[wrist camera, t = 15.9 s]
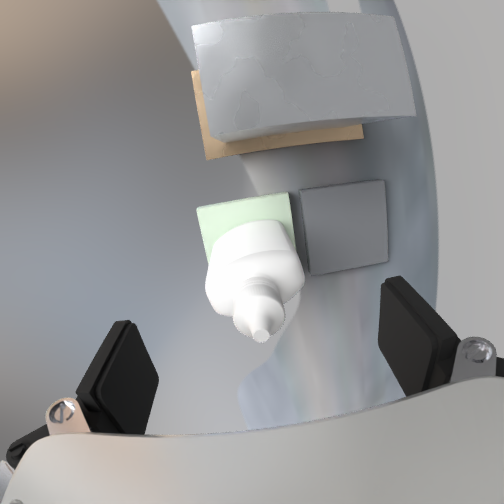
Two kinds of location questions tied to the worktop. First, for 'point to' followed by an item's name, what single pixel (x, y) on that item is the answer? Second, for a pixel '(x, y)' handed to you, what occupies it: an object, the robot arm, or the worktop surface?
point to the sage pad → (243, 216)
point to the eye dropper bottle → (254, 277)
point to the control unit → (297, 79)
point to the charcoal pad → (345, 225)
